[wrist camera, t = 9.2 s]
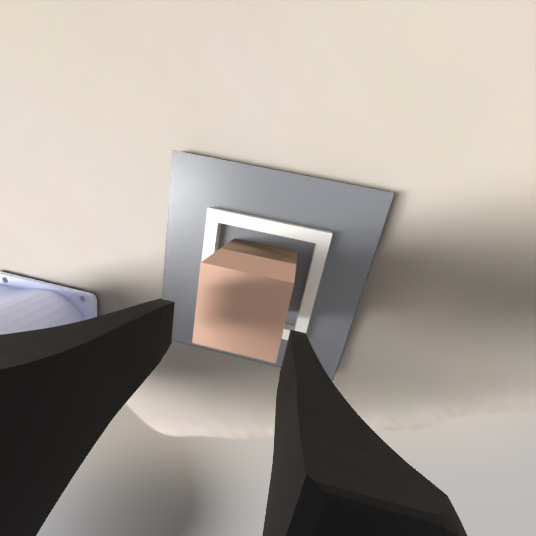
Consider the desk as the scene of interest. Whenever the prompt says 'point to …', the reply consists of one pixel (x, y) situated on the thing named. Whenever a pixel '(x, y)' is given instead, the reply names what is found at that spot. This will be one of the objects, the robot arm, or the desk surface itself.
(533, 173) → the desk surface
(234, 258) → the brick stack
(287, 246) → the base plate
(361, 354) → the desk surface
